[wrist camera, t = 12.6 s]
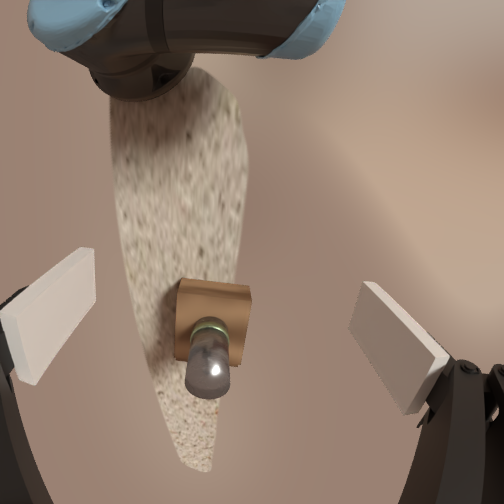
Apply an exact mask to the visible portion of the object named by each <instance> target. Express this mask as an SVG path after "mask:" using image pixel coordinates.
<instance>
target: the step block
mask: <svg viewBox="0 0 504 504" xmlns="http://www.w3.org/2000/svg"><path fill="white" fill-rule="evenodd" d="M251 303H252V299H251V293H250V288H249V286H246V285H238V284H229V283H220V282H212V281H204V280H196V279H188V278H182V279H181V282H180V285H179V288H178V291H177V303H176V323H175V349H174V358H176V360H178V361H186V362H188V356H189V349H190V338H191V333H192V330H193V326H194V324H195V322H196V321H197V320H199V319H200V318H203V317H207V316H213V317H217V318H219V319H221V320H222V321H224V322H225V324H226V325H227V327H228V334H229V366H234V367H238V365H241V360H242V353H243V349H244V343H245V338H246V332H247V326H248V321H249V315H250V309H251Z"/></svg>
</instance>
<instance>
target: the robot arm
mask: <svg viewBox="0 0 504 504" xmlns="http://www.w3.org/2000/svg"><path fill="white" fill-rule="evenodd" d="M345 2H346V0H30V2H29V5H28V11H27V22H28V26H29V29H30V31H31V33H32V34H33V35H34V37H36V38H37V39H38V40H39V41H41V42H42V43H43V44H45V46H46V47H47V48H48V49H49V50H53V51H54V52H55V51H57V52H59V53H61V54H63V55H65V56H67V57H69V58H71V59H72V60H74V61H76V62H78V63H80V64H82V65H84V66H85V67H87V68H89V71H90V74H91V77H92V79H93V81H94V82H95V84H96V85H97V86H98V87H99V88H100V89H101V90H102V91H103V92H105V93H106V94H108V95H110V96H112V97H114V98H116V99H119V100H123V101H129V102H138V101H145V100H149V99H152V98H155V97H158V96H160V95H162V94H164V93H165V92H167V91H169V90H170V89H171V88H173V87H174V86H175V85H176V84H178V83H179V82H180V81H181V79H182V78H183V77H184V76H185V75H186V73H187V72H188V70H189V68H190V67H191V65H192V62H193V59H194V56H195V53H213V54H234V55H248V56H256V58H260V59H266V58H270V57H271V58H283V59H294V60H297V59H303V58H305V57H307V56H310V55H312V54H314V53H315V52H316V51H318V50H319V49H320V48H321V47H322V46H323V44H324V43H325V42H326V41H327V39H328V38H329V37H330V35H331V33H332V32H333V30H334V28H335V26H336V24H337V22H338V20H339V18H340V16H341V13H342V11H343V8H344V5H345ZM94 270H95V269H94V249H92V248H85V247H80V248H78V249H77V250H75V251H74V252H73V253H72V254H70V255H69V256H67V257H66V258H65V259H63V260H62V261H61V262H59V263H58V264H57V265H55V266H54V267H53V268H51V269H50V270H49V271H48V272H46V273H45V274H44V275H42V276H41V277H40V278H39V279H37V280H36V281H35V282H34V283H32V284H31V285H30V286H27V287H24V288H22V289H19V290H18V291H17V292H15V293H14V294H13V295H12V296H11V297H9V298H8V299H7V300H6V302H4V303H2V304H1V305H0V504H53V501H52V499H51V497H50V495H49V493H48V491H47V489H46V486H45V484H44V482H43V480H42V477H41V475H40V472H39V470H38V467H37V465H36V462H35V460H34V457H33V454H32V451H31V449H30V446H29V443H28V440H27V437H26V433H25V430H24V427H23V423H22V420H21V416H20V413H19V409H18V405H17V401H16V397H15V393H14V388H13V383H12V380H11V377H10V374H9V373H10V372H11V371H12V369H13V368H15V371H16V373H17V376H18V379H19V380H20V381H23V382H26V383H29V384H31V385H34V386H35V385H36V384H37V382H38V381H39V379H40V378H41V376H42V375H43V373H44V372H45V370H46V369H47V367H48V366H49V365H50V363H51V362H52V360H53V359H54V357H55V356H56V354H57V353H58V352H59V350H60V349H61V347H62V346H63V344H64V343H65V342H66V340H67V339H68V338H69V336H70V335H71V333H72V332H73V331H74V329H75V328H76V327H77V325H78V324H79V323H80V321H81V320H82V318H83V317H84V316H85V314H86V313H87V312H88V311H89V309H90V308H91V307H92V306H93V304H94V303H95V302H96V291H95V271H94ZM348 329H349V331H350V332H351V334H352V335H353V337H354V338H355V340H356V341H357V343H358V344H359V346H360V347H361V349H362V350H363V352H364V354H365V355H366V357H367V358H368V360H369V361H370V363H371V364H372V366H373V368H374V369H375V371H376V372H377V374H378V375H379V377H380V378H381V380H382V382H383V383H384V385H385V386H386V388H387V390H388V391H389V393H390V394H391V396H392V398H393V399H394V401H395V403H396V404H397V405H398V407H399V409H400V411H401V412H402V414H403V415H409V414H414V413H418V412H419V410H420V409H421V407H422V406H423V404H424V403H425V401H426V402H427V404H428V405H429V408H428V410H427V412H426V413H425V415H424V416H423V418H422V419H421V421H420V422H419V424H418V425H417V428H419V427H420V425H422V424H423V426H422V430H421V434H420V438H419V442H418V445H417V449H416V452H415V456H414V460H413V462H412V466H411V469H410V472H409V475H408V478H407V481H406V484H405V487H404V489H403V493H402V495H401V497H400V500H399V503H398V504H504V365H501V364H496V365H494V366H493V368H492V369H491V371H490V373H489V374H482V373H481V370H480V369H479V368H478V367H477V366H476V365H475V364H473V363H471V362H469V361H466V360H457V361H456V360H455V359H454V358H453V357H452V356H451V355H450V354H449V353H448V352H447V351H446V350H445V349H444V348H443V347H442V346H440V344H439V343H438V342H437V341H435V339H434V338H433V337H432V336H431V335H430V334H429V333H428V332H426V331H425V330H424V329H423V328H422V327H421V326H420V325H419V324H418V323H417V322H416V321H415V320H414V319H413V318H412V317H411V316H410V315H409V314H408V313H407V312H406V311H405V310H404V309H403V308H402V307H401V306H400V305H398V303H396V302H395V301H394V300H393V299H392V298H391V297H390V296H389V295H388V294H387V293H386V292H385V291H384V290H383V289H382V288H381V287H380V286H378V285H377V284H376V283H375V282H366V281H363V282H362V285H361V289H360V292H359V296H358V299H357V302H356V305H355V308H354V311H353V314H352V318H351V321H350V324H349V327H348ZM498 407H499V414H498V416H497V417H496V419H495V420H494V421H493V420H492V415H493V414H494V413H495V411H496V410H497V408H498Z"/></svg>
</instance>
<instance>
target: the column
mask: <svg viewBox="0 0 504 504" xmlns="http://www.w3.org/2000/svg"><path fill="white" fill-rule="evenodd" d="M185 386H186V388H187V390H188V391H189V392H190V393H191V394H192V395H194V396H196V397H198V398H202V399H216V398H219V397H221V396H223V395H224V394H226V393H227V391H228V390H229V387H230V373H229V334H228V327H227V325H226V324H225V322H224V321H222V320H221V319H219V318H217V317H213V316H207V317H203V318H200V319H199V320H197V321H196V322H195V324H194V326H193V330H192V333H191V338H190V349H189V356H188V363H187V369H186V376H185Z"/></svg>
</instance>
